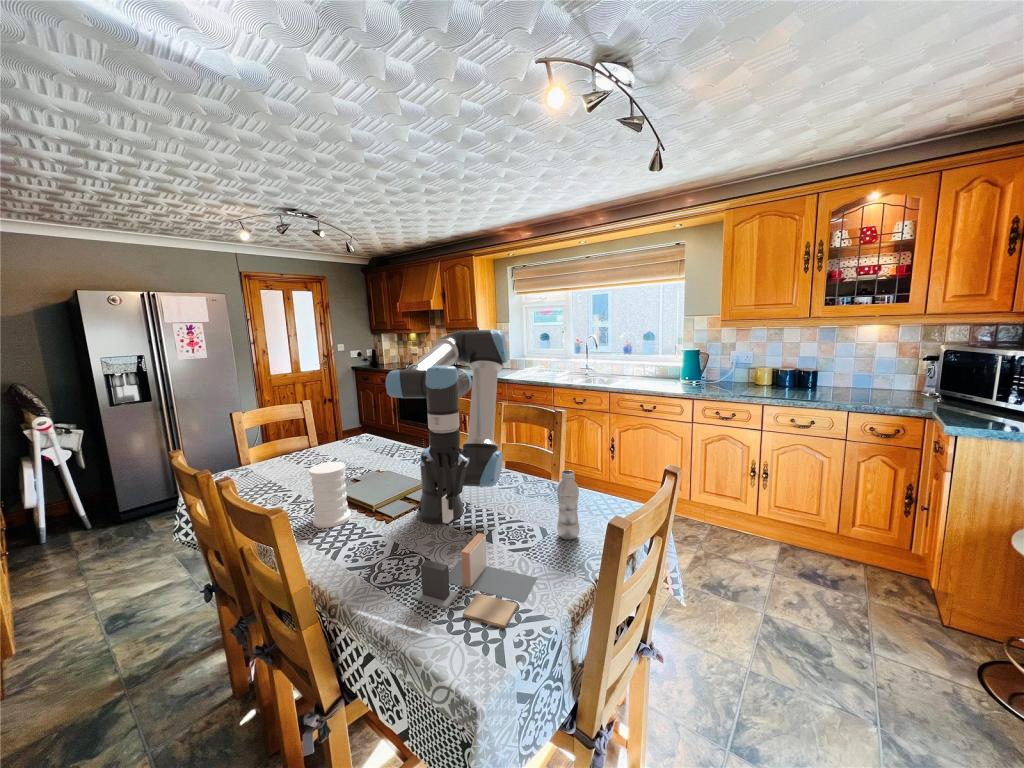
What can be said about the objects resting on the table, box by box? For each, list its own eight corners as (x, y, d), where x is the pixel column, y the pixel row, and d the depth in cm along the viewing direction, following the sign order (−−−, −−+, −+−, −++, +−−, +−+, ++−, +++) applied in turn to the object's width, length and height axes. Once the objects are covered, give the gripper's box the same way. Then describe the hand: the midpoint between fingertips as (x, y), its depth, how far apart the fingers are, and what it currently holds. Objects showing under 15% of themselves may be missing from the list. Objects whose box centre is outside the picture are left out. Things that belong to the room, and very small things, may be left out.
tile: (462, 585, 97) (461, 551, 96) (479, 564, 105) (478, 533, 104) (470, 587, 96) (469, 553, 95) (487, 566, 104) (486, 534, 103)
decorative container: (338, 508, 141) (334, 459, 138) (358, 516, 134) (353, 465, 132) (306, 521, 132) (300, 469, 129) (325, 531, 125) (319, 476, 122)
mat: (441, 582, 99) (440, 580, 99) (460, 561, 108) (460, 559, 108) (524, 604, 91) (524, 602, 91) (537, 579, 99) (537, 577, 99)
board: (462, 618, 87) (462, 613, 87) (477, 597, 93) (477, 593, 93) (505, 630, 83) (505, 625, 83) (517, 608, 90) (517, 603, 89)
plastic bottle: (574, 544, 115) (574, 478, 112) (553, 538, 118) (552, 473, 115) (583, 534, 120) (583, 470, 117) (562, 529, 124) (562, 466, 120)
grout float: (413, 600, 93) (411, 567, 92) (426, 587, 98) (424, 555, 96) (447, 610, 90) (445, 575, 88) (458, 596, 94) (457, 563, 93)
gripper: (412, 430, 97) (417, 523, 100) (459, 435, 92) (463, 532, 95) (430, 423, 104) (434, 510, 107) (474, 427, 99) (477, 518, 102)
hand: (448, 520), depth 101 cm, fingers closed
